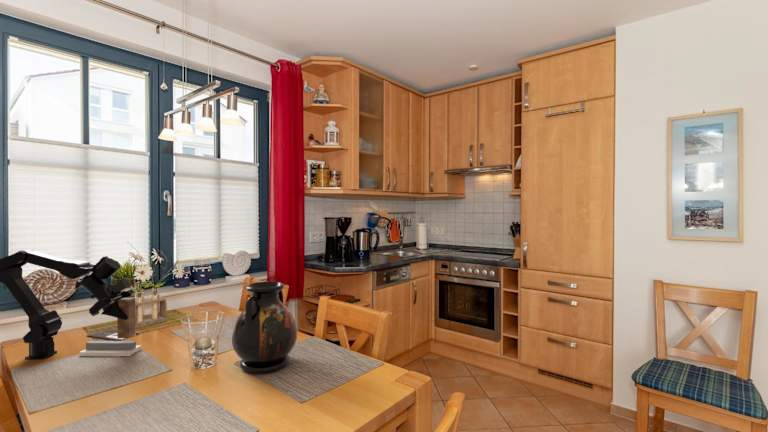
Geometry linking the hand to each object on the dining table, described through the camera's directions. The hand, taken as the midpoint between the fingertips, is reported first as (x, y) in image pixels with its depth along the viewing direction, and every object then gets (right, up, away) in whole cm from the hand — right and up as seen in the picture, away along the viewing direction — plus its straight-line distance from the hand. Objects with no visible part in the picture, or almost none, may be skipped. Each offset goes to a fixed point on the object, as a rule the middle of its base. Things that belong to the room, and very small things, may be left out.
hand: (130, 317), depth 139 cm
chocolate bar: (-20, -14, +19) cm, 31 cm away
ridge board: (-7, -13, +1) cm, 15 cm away
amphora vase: (+53, -14, -9) cm, 56 cm away
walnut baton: (-1, -7, 0) cm, 7 cm away
